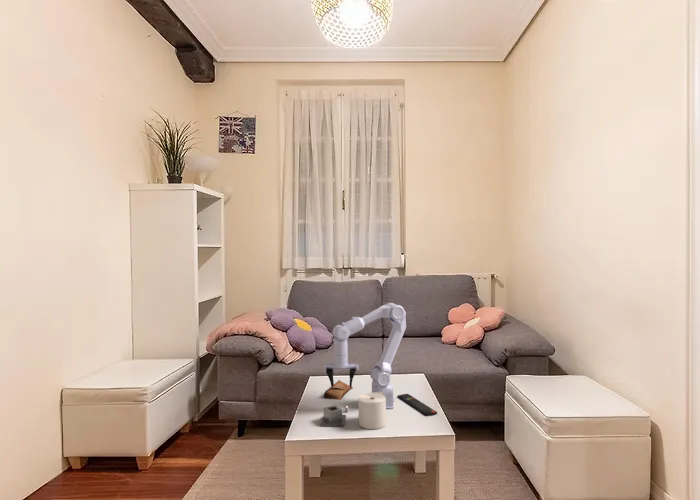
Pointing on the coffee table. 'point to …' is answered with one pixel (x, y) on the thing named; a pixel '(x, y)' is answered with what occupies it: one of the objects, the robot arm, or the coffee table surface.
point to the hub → (333, 424)
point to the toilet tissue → (372, 410)
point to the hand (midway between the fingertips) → (341, 386)
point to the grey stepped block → (332, 413)
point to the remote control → (417, 405)
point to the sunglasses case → (337, 391)
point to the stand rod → (346, 408)
